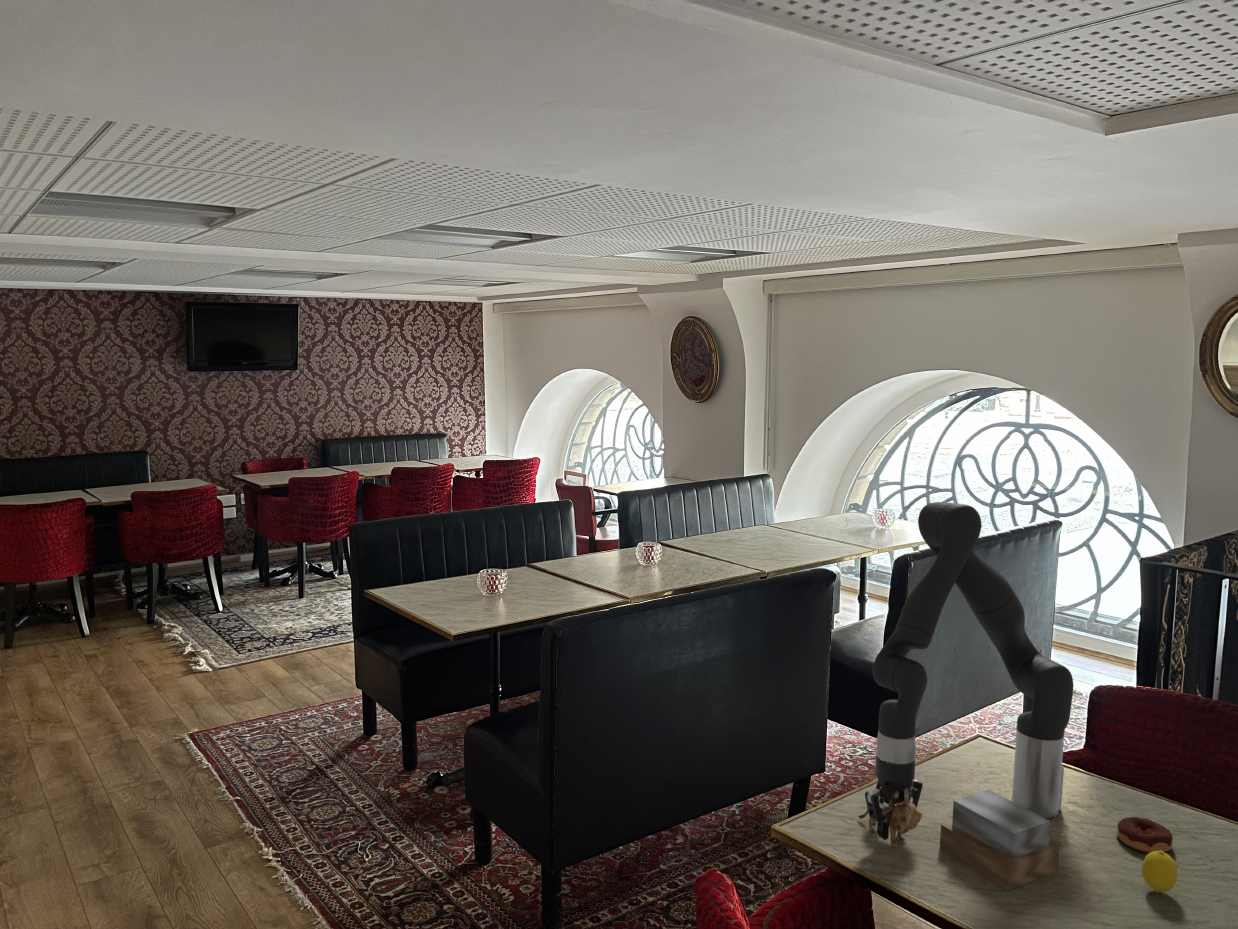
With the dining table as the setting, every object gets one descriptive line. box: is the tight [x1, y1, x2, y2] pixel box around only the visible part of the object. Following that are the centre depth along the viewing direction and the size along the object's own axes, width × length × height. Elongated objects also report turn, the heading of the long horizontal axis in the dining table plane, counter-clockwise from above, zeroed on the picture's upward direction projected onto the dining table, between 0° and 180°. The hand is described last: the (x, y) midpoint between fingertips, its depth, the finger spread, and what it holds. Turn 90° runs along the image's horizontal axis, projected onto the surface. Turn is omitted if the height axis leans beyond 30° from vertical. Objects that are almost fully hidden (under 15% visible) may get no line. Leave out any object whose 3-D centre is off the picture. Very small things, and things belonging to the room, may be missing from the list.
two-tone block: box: [939, 789, 1061, 891], centre depth 175 cm, size 14×16×10 cm
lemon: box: [1141, 850, 1178, 894], centre depth 165 cm, size 6×6×8 cm
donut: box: [1115, 816, 1174, 854], centre depth 182 cm, size 10×10×4 cm
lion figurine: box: [857, 802, 923, 848], centre depth 183 cm, size 15×5×9 cm, turn 35°
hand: (891, 834), depth 183 cm, fingers closed on lion figurine, 4 cm apart
